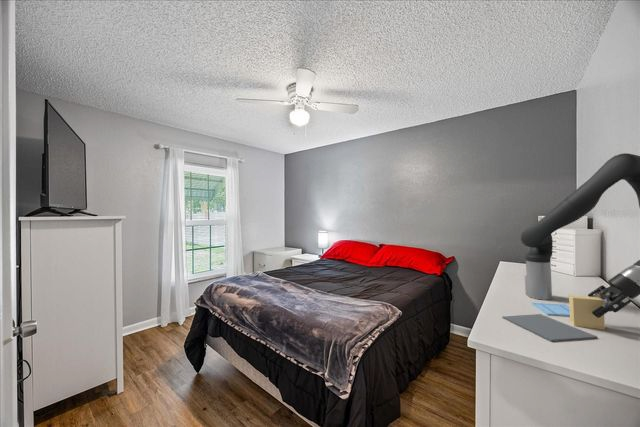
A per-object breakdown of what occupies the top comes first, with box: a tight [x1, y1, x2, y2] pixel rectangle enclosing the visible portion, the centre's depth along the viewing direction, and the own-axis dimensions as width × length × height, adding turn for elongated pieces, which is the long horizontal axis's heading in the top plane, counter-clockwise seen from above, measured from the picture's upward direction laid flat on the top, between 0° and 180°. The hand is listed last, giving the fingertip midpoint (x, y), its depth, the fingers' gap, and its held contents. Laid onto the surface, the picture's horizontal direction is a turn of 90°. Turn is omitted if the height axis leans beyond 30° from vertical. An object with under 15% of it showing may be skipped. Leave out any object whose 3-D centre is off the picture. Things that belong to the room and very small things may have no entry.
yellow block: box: [568, 294, 606, 330], centre depth 94 cm, size 8×4×10 cm, turn 65°
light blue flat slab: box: [531, 302, 570, 318], centre depth 110 cm, size 14×12×1 cm
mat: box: [501, 313, 598, 342], centre depth 94 cm, size 20×16×1 cm
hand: (588, 311), depth 94 cm, fingers open, 8 cm apart
